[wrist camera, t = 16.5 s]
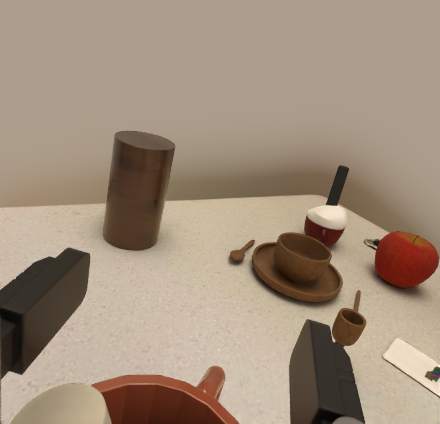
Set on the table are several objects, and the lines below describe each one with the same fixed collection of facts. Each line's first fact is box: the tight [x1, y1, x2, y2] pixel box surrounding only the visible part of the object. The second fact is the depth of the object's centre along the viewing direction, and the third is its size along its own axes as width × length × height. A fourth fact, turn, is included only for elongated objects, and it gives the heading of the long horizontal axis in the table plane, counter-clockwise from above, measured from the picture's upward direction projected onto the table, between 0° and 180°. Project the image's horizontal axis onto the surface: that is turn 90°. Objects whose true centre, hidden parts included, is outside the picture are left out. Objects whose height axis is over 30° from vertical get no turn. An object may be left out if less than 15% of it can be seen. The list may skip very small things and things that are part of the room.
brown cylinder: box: [103, 131, 175, 250], centre depth 45 cm, size 7×7×13 cm
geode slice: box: [364, 239, 380, 249], centre depth 63 cm, size 7×8×2 cm
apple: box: [375, 231, 439, 287], centre depth 52 cm, size 8×8×8 cm
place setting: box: [230, 233, 366, 347], centre depth 43 cm, size 18×20×6 cm
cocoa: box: [304, 165, 349, 246], centre depth 58 cm, size 10×6×12 cm, turn 139°
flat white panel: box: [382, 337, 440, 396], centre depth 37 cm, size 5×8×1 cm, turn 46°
